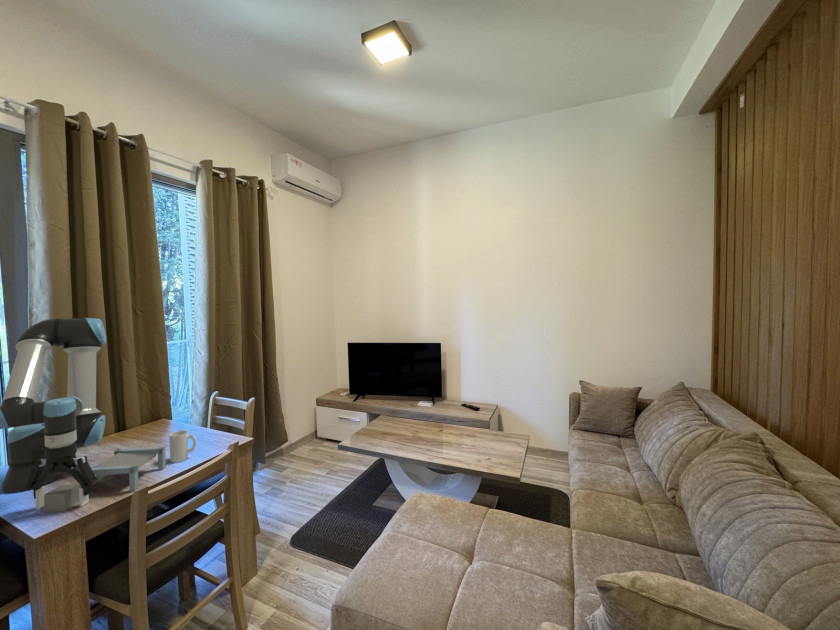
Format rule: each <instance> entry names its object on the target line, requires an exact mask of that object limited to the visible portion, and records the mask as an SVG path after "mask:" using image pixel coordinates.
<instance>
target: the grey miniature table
mask: <svg viewBox="0 0 840 630" xmlns="http://www.w3.org/2000/svg"><path fill="white" fill-rule="evenodd" d="M119 452H122V453H153V454H156V455H157V462H158V465H157V468H158V471H163V470H165V469H166V446H160V447H159V446H158V447H138V448H137V447H135V448H134V447H133V448H119V449H118V448H117V449H115V450H114V451H113V453H114V455H116V454H118V453H119ZM114 455H113V456H114ZM91 469H92V471H93V473H94V474H95V476H96V478H97V481H99V480H101V479H102V478H104V477H106V476H107V475H120V474H121V475H125V474H128V475H129V479H128V481H129V483H128V484H129V492H131V493H132V492H133V493H134V492H136V491H137V489H138V490H139V468H138V465H135V466H117V467H99V468H93V467H91ZM93 484H94V483H92V484H91V485H93ZM80 487H81V485H80ZM135 490H136V491H135Z"/></svg>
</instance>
